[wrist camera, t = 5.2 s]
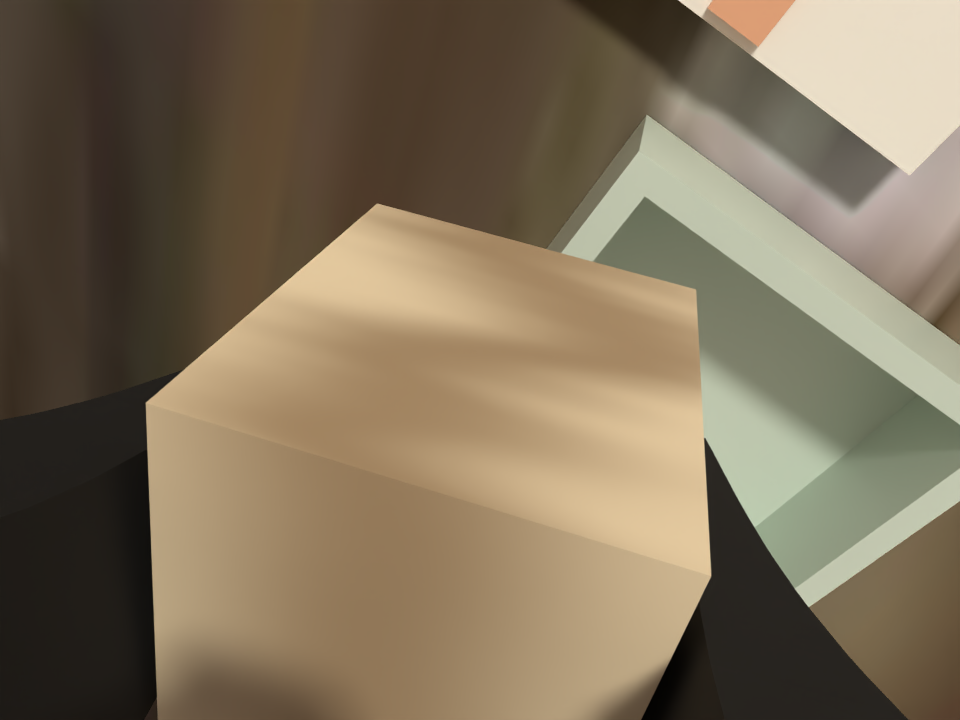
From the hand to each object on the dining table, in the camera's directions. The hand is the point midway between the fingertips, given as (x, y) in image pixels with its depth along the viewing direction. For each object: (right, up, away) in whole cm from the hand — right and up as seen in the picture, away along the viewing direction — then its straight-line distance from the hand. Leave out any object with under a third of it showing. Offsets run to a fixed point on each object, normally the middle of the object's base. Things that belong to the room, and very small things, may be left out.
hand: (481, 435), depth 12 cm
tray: (+5, +1, +8) cm, 10 cm away
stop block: (0, +1, +1) cm, 1 cm away
